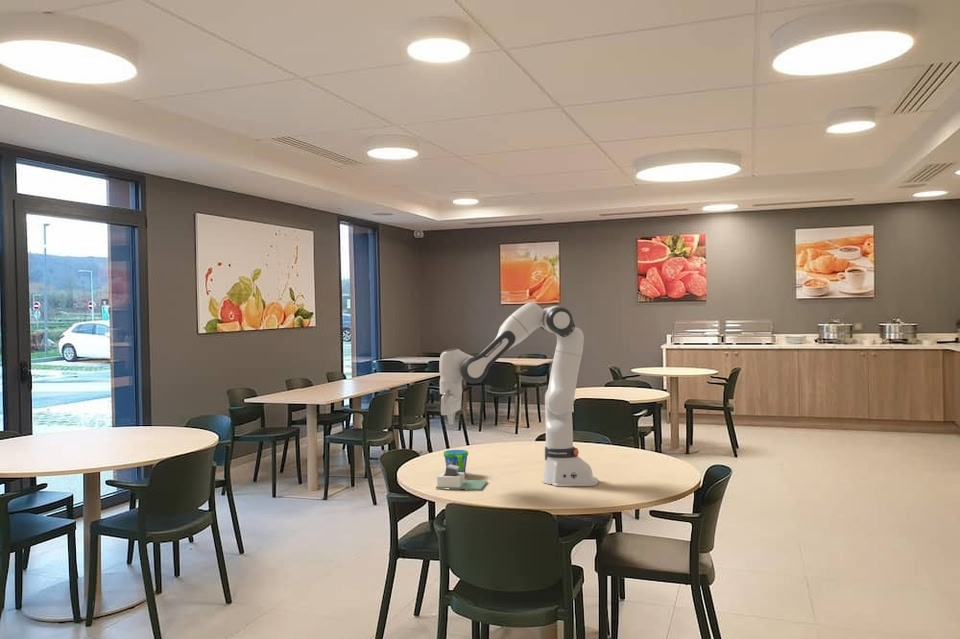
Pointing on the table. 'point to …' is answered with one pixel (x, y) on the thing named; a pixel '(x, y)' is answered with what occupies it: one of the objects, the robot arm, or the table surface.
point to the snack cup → (456, 458)
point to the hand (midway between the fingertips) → (451, 423)
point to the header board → (470, 485)
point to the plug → (451, 470)
